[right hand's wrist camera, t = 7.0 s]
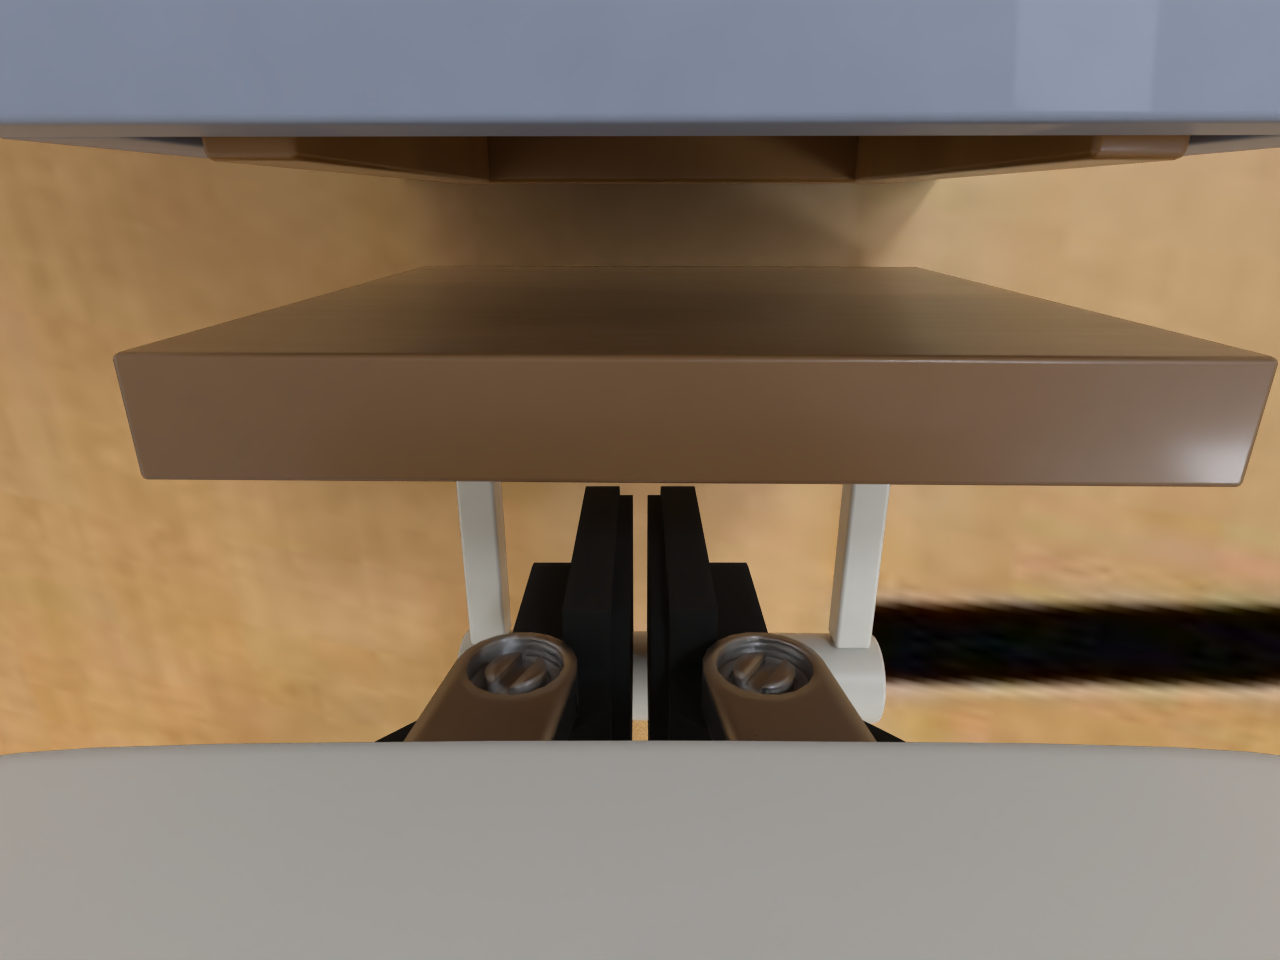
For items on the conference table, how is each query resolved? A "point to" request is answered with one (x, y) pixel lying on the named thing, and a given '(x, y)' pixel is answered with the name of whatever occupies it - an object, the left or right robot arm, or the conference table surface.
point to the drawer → (694, 366)
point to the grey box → (636, 69)
